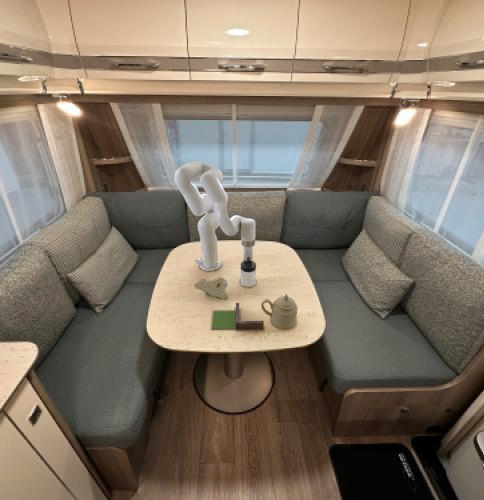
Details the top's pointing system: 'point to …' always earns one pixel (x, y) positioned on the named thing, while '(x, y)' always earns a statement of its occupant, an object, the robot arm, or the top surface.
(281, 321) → the sugar bowl
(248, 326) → the corner rail
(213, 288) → the khaki irregular lump
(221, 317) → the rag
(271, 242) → the top surface
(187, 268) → the top surface
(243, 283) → the jar
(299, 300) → the top surface
